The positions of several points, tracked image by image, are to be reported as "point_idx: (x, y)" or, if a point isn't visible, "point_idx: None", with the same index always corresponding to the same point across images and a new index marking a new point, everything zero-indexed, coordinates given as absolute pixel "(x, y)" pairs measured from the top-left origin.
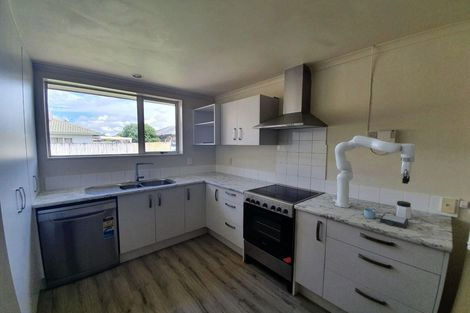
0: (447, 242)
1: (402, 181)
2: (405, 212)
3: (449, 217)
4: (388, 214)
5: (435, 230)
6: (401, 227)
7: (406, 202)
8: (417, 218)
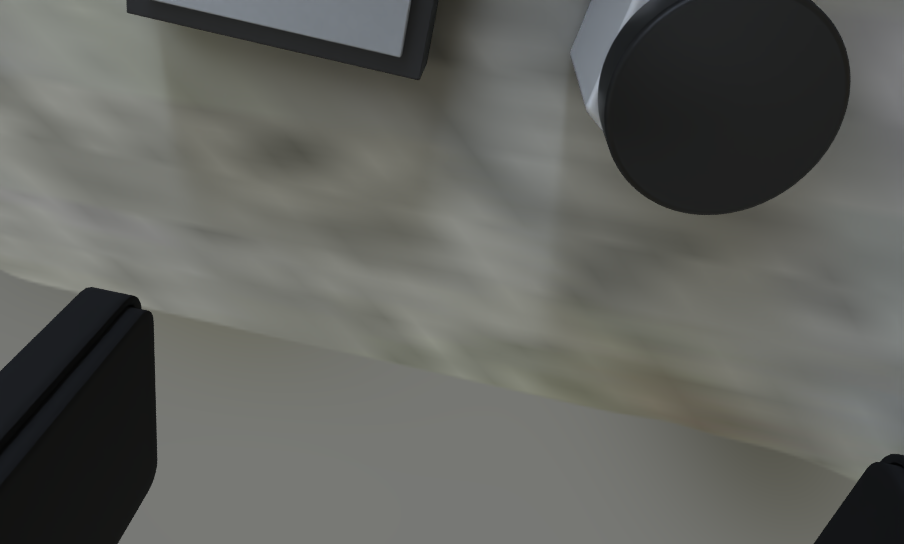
0: None
1: (27, 350)
2: (577, 79)
3: None
4: None
5: (346, 281)
6: None
7: (741, 155)
8: None
